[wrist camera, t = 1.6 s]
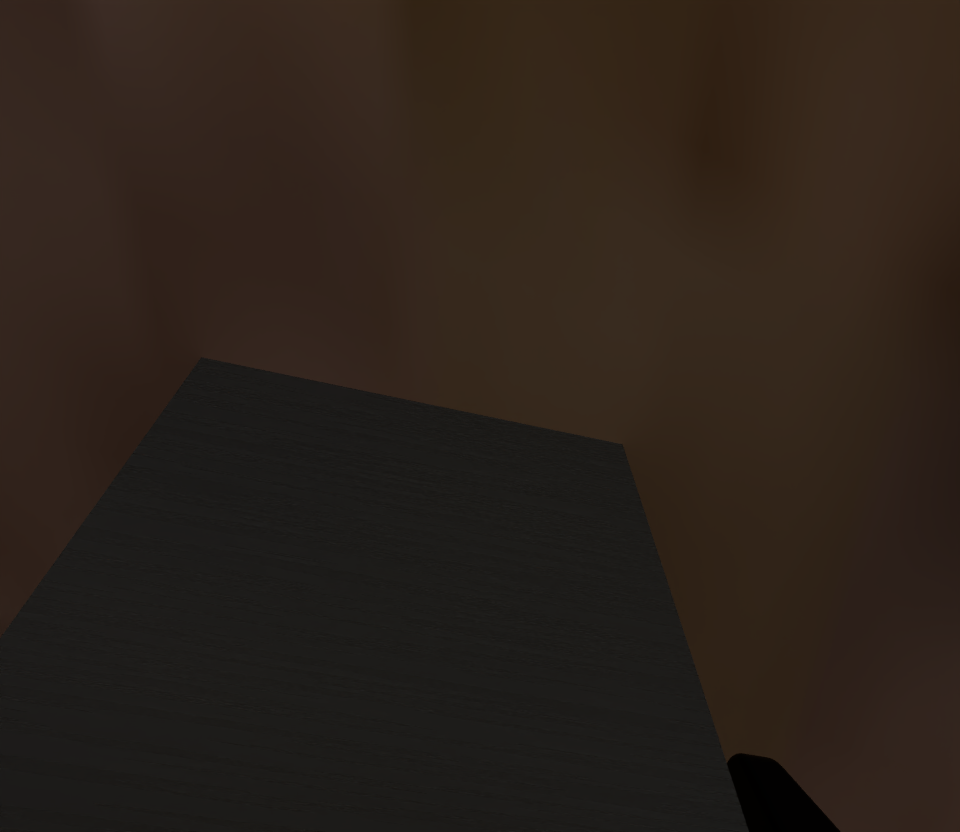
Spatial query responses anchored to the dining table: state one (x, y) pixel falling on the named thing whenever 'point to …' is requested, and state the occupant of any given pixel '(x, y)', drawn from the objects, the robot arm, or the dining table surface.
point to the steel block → (356, 633)
